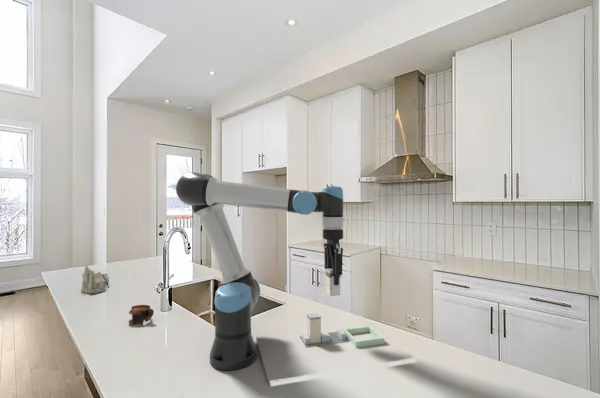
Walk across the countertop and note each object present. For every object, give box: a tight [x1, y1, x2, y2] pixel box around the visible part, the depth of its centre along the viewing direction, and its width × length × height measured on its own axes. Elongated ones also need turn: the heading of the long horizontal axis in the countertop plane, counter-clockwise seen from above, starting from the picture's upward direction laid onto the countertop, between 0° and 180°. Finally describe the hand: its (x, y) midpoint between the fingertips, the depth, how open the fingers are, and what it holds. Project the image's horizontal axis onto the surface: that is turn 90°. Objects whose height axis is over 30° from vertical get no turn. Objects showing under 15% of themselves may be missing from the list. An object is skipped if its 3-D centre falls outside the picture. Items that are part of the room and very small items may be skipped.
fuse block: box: [299, 328, 350, 349], centre depth 113 cm, size 16×9×3 cm, turn 105°
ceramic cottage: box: [80, 265, 111, 294], centre depth 181 cm, size 16×16×15 cm
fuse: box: [306, 312, 322, 343], centre depth 112 cm, size 4×4×9 cm
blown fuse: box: [325, 268, 342, 297], centre depth 114 cm, size 4×4×9 cm
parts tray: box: [342, 325, 385, 348], centre depth 113 cm, size 11×11×3 cm
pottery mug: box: [128, 304, 154, 327], centre depth 133 cm, size 12×10×8 cm
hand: (333, 291), depth 114 cm, fingers closed on blown fuse, 4 cm apart
